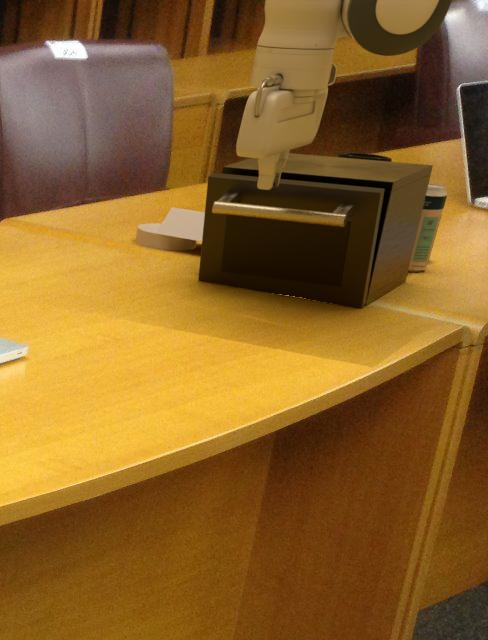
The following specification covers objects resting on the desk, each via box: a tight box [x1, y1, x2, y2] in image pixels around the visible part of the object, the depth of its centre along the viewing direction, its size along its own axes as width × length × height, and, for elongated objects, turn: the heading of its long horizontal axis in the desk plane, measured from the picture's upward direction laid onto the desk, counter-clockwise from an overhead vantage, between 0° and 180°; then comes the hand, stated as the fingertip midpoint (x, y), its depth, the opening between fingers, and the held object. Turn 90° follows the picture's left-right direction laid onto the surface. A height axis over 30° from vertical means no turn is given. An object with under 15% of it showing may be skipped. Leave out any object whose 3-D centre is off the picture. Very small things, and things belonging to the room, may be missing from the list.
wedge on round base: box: [134, 206, 205, 251], centre depth 236 cm, size 9×7×13 cm
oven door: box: [197, 172, 385, 309], centre depth 205 cm, size 6×22×16 cm, turn 50°
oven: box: [221, 152, 434, 307], centre depth 215 cm, size 20×22×16 cm
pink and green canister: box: [408, 183, 448, 273], centre depth 223 cm, size 5×5×12 cm
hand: (267, 188), depth 194 cm, fingers closed
